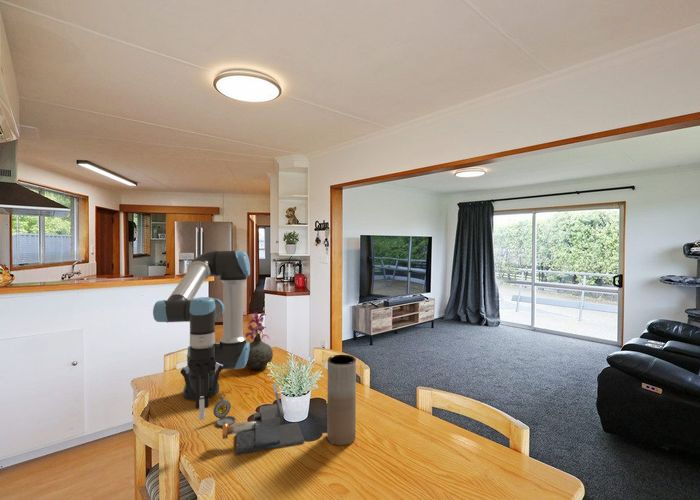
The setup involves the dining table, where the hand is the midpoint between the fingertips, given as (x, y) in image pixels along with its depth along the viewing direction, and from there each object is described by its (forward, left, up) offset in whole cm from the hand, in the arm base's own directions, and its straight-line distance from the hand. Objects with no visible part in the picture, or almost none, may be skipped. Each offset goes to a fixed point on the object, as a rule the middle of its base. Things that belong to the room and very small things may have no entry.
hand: (202, 417), depth 110 cm
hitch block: (0, +21, -11) cm, 23 cm away
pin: (0, +14, -8) cm, 16 cm away
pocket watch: (-17, +7, -11) cm, 22 cm away
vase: (-72, +22, -11) cm, 76 cm away
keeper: (0, +25, -1) cm, 25 cm away
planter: (+7, +46, -11) cm, 47 cm away
